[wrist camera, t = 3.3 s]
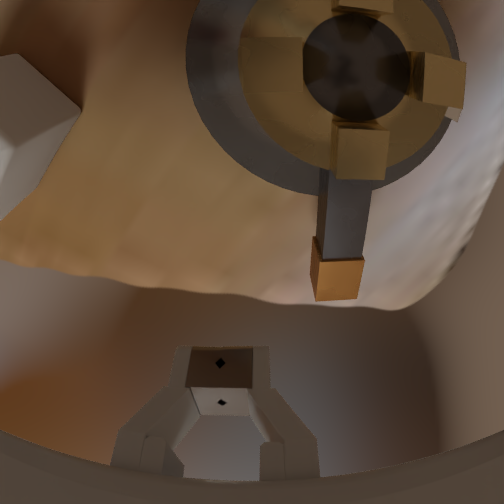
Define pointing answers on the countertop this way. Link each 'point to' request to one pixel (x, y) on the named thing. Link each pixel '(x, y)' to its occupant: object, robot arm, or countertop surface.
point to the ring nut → (347, 105)
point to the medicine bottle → (28, 128)
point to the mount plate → (239, 114)
